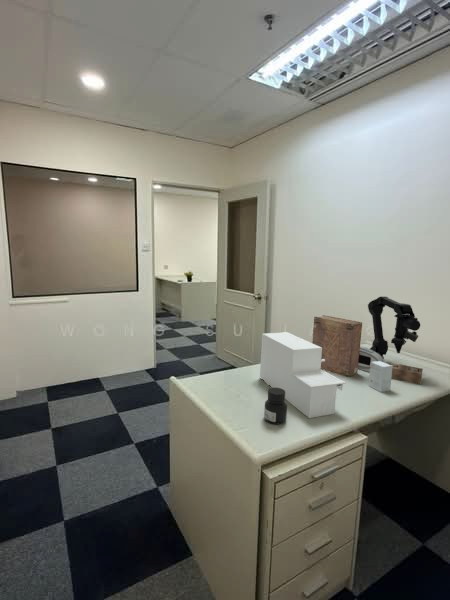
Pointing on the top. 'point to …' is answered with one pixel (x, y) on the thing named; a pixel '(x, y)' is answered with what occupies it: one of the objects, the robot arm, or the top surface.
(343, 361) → the brown wooden case
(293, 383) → the building
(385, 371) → the small box
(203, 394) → the top surface
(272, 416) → the ink bottle
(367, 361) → the alarm clock
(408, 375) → the walnut block
